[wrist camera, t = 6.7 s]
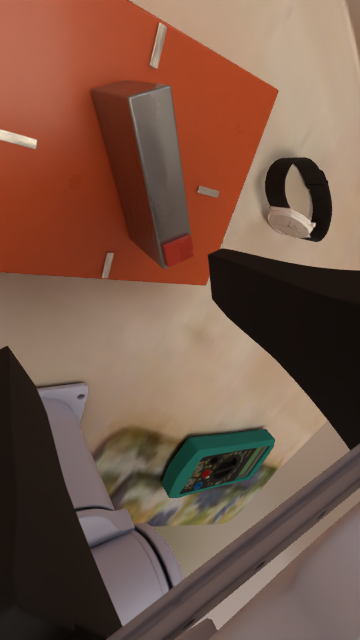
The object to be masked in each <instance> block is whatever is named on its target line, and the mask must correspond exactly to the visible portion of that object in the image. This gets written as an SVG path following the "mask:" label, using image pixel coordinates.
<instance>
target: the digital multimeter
mask: <svg viewBox="0 0 360 640" xmlns="http://www.w3.org/2000/svg"><path fill="white" fill-rule="evenodd" d="M274 442H275V439H274V438H273V437H272V435H271V434H270V433H269V432H268V431H267V430H266V429H262V430H261V429H260V430H252V431H243V432H234V433H226V434H216V435H207V436H197V437H188V438H187V440H186V441H185V443H184V444H183V446H182V447H181V449H180V450H179V451H178V453H177V454H176V456H175V457H174V458H173V460H172V462H171V463H170V465H169V467H168V469H167V471H166V473H165V475H164V478H163V481H162V486H163V487H164V489H165V491H166V493H167V495H168V497H169V498H179V497H182V496H186V495H189V494H193V493H196V492H200V491H203V490H207V489H211V488H214V487H218V486H222V485H226V484H231V483H235V482H239V481H244V480H248V479H250V478H251V477H252V476H253V475H254V473H255V472H256V471H257V470H258V468H259V467H260V466H261V464H262V463H263V462H264V460H265V459H266V457H267V456H268V454H269V453H270V451H271V450H272V448H273V446H274Z"/></svg>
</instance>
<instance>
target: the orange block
mask: <svg viewBox="0 0 360 640" xmlns="http://www.w3.org/2000/svg"><path fill="white" fill-rule="evenodd" d="M123 80H132V81H141V82H149V83H157V84H165V85H170V86H171V89H172V97H173V104H174V112H175V119H176V126H177V134H178V141H179V149H180V156H181V164H182V171H183V179H184V186H185V193H186V201H187V208H188V216H189V223H190V231H191V237H192V245H193V252H194V256H193V257H191V258H189V259H187V260H185V261H182V262H180V263H178V264H176V265H174V266H171V267H169V268H167V269H163V268H161V267H160V266H159V265H158V264H157V263H156V262H155V261H154V260H153V259H151V258H150V257H149V256H148V255H147V254H146V253H145V252H144V251H143V250H141V249H140V248H139V247H138V246H137V245H136V244H135V243H134V242H133V241H131V239H130V236H129V232H128V228H127V224H126V221H125V217H124V213H123V209H122V206H121V202H120V198H119V194H118V191H117V187H116V183H115V180H114V176H113V172H112V168H111V165H110V161H109V157H108V153H107V150H106V146H105V142H104V138H103V135H102V131H101V127H100V123H99V120H98V116H97V112H96V108H95V105H94V101H93V97H92V93H91V89H92V88H96V87H100V86H103V85H107V84H111V83H115V82H119V81H123ZM277 94H278V90H277V89H276V88H274V87H273V86H271V85H269V84H268V83H266V82H264V81H263V80H261V79H259V78H258V77H256V76H254V75H253V74H251V73H249V72H248V71H246V70H244V69H242V68H241V67H239V66H237V65H236V64H234V63H232V62H231V61H229V60H227V59H226V58H224V57H222V56H221V55H219V54H217V53H216V52H214V51H212V50H211V49H209V48H207V47H206V46H204V45H202V44H201V43H199V42H197V41H196V40H194V39H192V38H191V37H189V36H187V35H186V34H184V33H182V32H181V31H179V30H177V29H176V28H174V27H172V26H171V25H169V24H167V23H166V22H164V21H162V20H161V19H159V18H157V17H155V16H154V15H152V14H150V13H149V12H147V11H145V10H144V9H142V8H140V7H139V6H137V5H135V4H134V3H132V2H130V1H129V0H0V272H6V273H21V274H36V275H52V276H67V277H83V278H98V279H113V280H129V281H144V282H160V283H175V284H191V285H206V284H207V281H208V278H209V276H210V273H209V263H208V254H210V253H213V252H215V251H217V250H219V249H220V246H221V244H222V241H223V238H224V236H225V233H226V230H227V228H228V225H229V222H230V220H231V217H232V214H233V212H234V209H235V206H236V204H237V201H238V198H239V196H240V193H241V190H242V188H243V185H244V182H245V180H246V177H247V174H248V172H249V169H250V166H251V164H252V161H253V158H254V155H255V153H256V150H257V147H258V145H259V142H260V139H261V137H262V134H263V131H264V129H265V126H266V123H267V121H268V118H269V115H270V113H271V110H272V107H273V105H274V102H275V99H276V97H277Z"/></svg>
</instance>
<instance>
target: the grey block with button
mask: <svg viewBox="0 0 360 640" xmlns="http://www.w3.org/2000/svg"><path fill="white" fill-rule="evenodd" d="M91 93H92V97H93V101H94V105H95V108H96V112H97V116H98V120H99V123H100V127H101V131H102V135H103V138H104V142H105V146H106V150H107V153H108V157H109V161H110V165H111V168H112V172H113V176H114V180H115V183H116V187H117V191H118V194H119V198H120V202H121V206H122V209H123V213H124V217H125V221H126V224H127V228H128V232H129V236H130V239H131V241H133V242H134V243H135V244H136V245H137V246H138V247H139V248H140V249H141V250H143V251H144V252H145V253H146V254H147V255H148V256H149V257H150V258H151V259H153V260H154V261H155V262H156V263H157V264H158V265H159V266H160V267H161V268H163V269H167V268H169V267H171V266H174V265H176V264H178V263H180V262H182V261H185V260H187V259H189V258H191V257H193V256H194V252H193V245H192V237H191V231H190V223H189V216H188V208H187V201H186V193H185V186H184V179H183V171H182V164H181V156H180V149H179V141H178V134H177V126H176V119H175V112H174V104H173V97H172V89H171V86H170V85H165V84H157V83H149V82H141V81H132V80H123V81H119V82H115V83H111V84H107V85H103V86H100V87H96V88H92V89H91Z"/></svg>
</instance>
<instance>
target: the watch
mask: <svg viewBox="0 0 360 640" xmlns="http://www.w3.org/2000/svg"><path fill="white" fill-rule="evenodd" d="M292 164H294V165H295V166H296V167H297V168H298V169H299V171H300V173H301V175H302V176H303V178H304V180H305V183H306V186H307V188H308V189H309V190H310V194H311V197H312V203H313V213H312V220H311V222H310V221H309V220H308V219H307V218H306V217H305V216H304V215H302V214H300V213H298V212H296V211H295V210H292V209H291V208H290V206H289V204H288V202H287V199H286V196H285V179H286V175H287V173H288V171H289V168H290V167H291V165H292ZM265 192H266V196H267V200H268V202H269V204H270V206H269V207H270V208H271V210H270V213H269V216H268V222H269V223H270V224H271V226H272V227H273V228H275V229H276V230H278V231H280V232H282V233H283V234H285V235H288V236H292V237H297V238H301V239H305V240H309V241H314V242H319V241H321V240H322V239H323V238H324V237H325V235H326V234H327V232H328V230H329V226H330V222H331V216H332V201H331V195H330V190H329V186H328V181H327V180H326V177H325V174H324V172H323V171H322V170H319V168H318V166H317V165H316V164H315V163H314V162H313V161H312V160H311V159H308V158H305V157H303V158H281V159H278V160H276V161H275V162H274V163H273V164H272V165H271V166H270V168H269V170H268V172H267V176H266V180H265Z"/></svg>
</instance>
